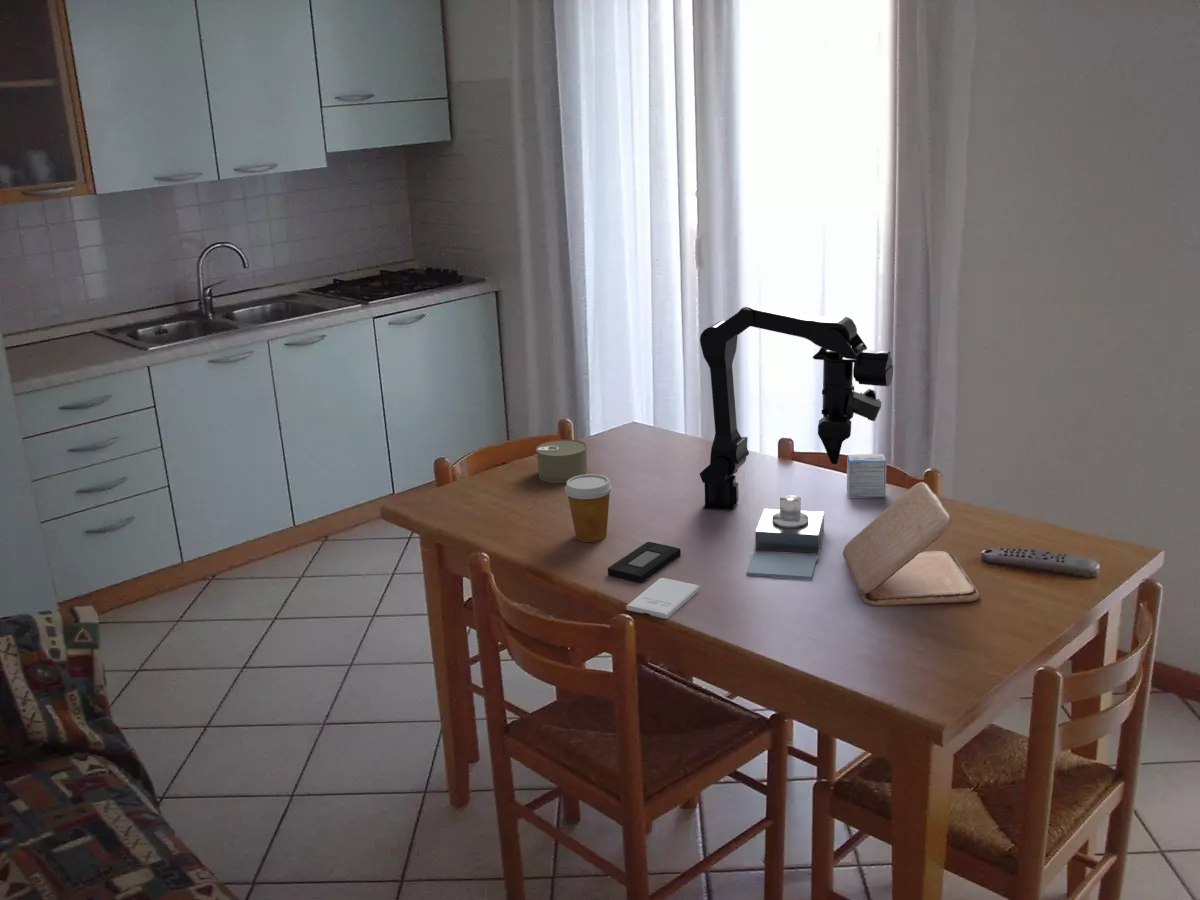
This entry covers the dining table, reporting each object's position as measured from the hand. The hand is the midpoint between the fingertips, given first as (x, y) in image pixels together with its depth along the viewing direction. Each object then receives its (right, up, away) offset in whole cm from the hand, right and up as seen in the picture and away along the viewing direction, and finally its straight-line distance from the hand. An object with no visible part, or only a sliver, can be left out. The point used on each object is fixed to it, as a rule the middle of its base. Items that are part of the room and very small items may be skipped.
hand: (835, 456), depth 231 cm
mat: (-13, -21, -16) cm, 29 cm away
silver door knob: (-10, -16, -4) cm, 19 cm away
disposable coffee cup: (-49, -17, +3) cm, 52 cm away
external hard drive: (-36, -26, -26) cm, 52 cm away
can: (-56, -5, +40) cm, 69 cm away
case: (+8, -23, -24) cm, 34 cm away
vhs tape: (-39, -22, -11) cm, 46 cm away
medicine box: (+10, -9, +17) cm, 21 cm away
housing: (-10, -17, -4) cm, 20 cm away
